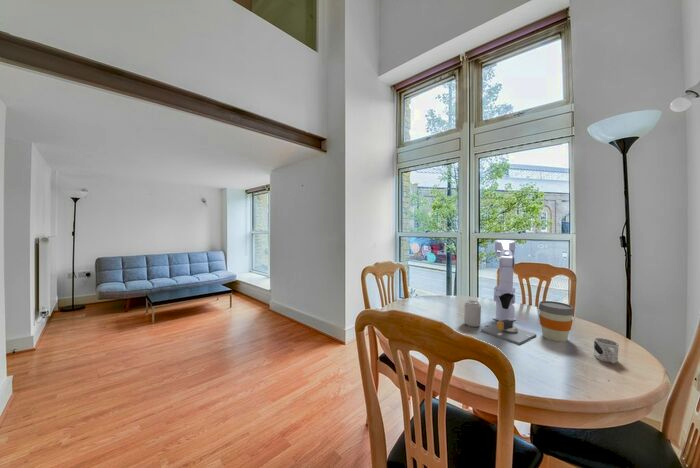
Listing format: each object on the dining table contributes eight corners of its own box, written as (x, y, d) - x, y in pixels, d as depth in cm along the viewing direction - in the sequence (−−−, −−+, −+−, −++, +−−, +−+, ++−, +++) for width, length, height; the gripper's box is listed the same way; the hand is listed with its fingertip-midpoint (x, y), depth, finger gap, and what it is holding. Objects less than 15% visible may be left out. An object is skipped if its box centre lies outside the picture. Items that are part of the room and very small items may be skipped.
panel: (498, 324, 135) (498, 321, 135) (536, 336, 121) (536, 333, 121) (481, 331, 126) (481, 328, 126) (519, 345, 112) (519, 342, 112)
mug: (590, 352, 105) (591, 336, 105) (612, 356, 103) (613, 339, 102) (601, 364, 96) (602, 347, 96) (626, 369, 94) (627, 351, 93)
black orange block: (506, 326, 129) (507, 315, 129) (521, 331, 123) (521, 320, 123) (492, 329, 125) (492, 318, 125) (506, 335, 119) (506, 323, 118)
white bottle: (477, 322, 137) (477, 299, 137) (482, 328, 130) (483, 304, 130) (462, 321, 138) (462, 299, 138) (467, 327, 131) (467, 303, 130)
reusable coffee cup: (573, 337, 120) (574, 304, 119) (571, 346, 111) (573, 311, 110) (539, 329, 129) (540, 299, 128) (535, 337, 119) (536, 304, 119)
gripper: (505, 277, 135) (504, 304, 135) (489, 280, 127) (489, 308, 127) (520, 280, 129) (519, 307, 129) (504, 283, 121) (504, 312, 121)
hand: (505, 308), depth 128 cm, fingers closed
